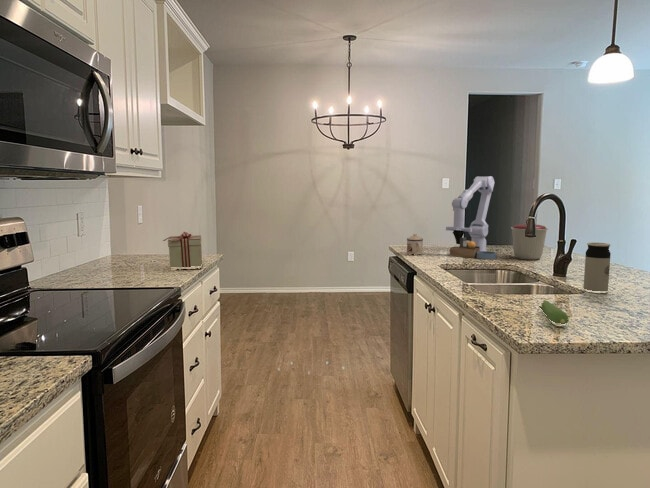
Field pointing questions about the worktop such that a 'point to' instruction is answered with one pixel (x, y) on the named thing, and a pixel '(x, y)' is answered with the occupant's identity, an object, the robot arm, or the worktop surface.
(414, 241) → the teacup with lid
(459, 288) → the worktop surface
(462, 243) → the plunger
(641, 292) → the worktop surface
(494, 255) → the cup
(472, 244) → the ball
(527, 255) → the white bucket
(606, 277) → the travel mug
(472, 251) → the brown rectangular box
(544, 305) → the green elongated piece
